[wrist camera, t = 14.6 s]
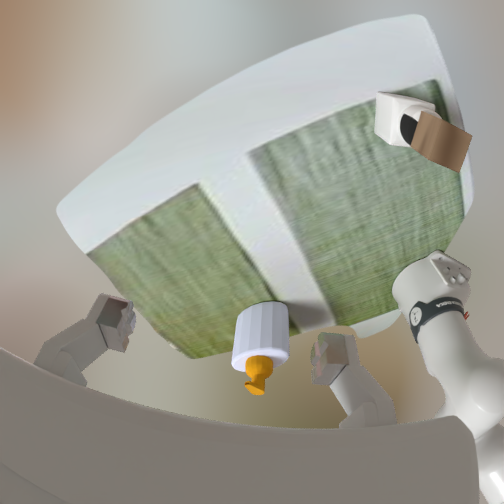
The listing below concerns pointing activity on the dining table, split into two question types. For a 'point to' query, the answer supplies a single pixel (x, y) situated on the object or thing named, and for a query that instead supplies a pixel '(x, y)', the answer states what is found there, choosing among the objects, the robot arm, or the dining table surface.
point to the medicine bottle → (399, 117)
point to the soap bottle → (261, 342)
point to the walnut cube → (441, 141)
